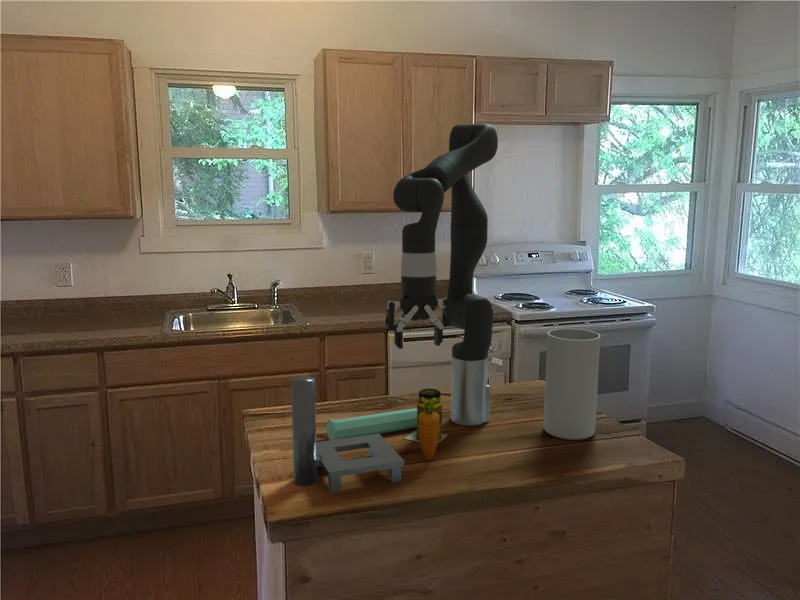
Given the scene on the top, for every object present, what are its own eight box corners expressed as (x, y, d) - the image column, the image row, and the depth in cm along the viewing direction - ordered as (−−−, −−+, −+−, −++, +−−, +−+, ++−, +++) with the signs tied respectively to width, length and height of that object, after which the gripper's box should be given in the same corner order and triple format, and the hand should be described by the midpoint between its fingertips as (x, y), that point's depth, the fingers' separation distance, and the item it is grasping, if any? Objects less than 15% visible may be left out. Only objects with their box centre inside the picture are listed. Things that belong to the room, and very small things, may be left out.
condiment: (435, 446, 157) (436, 397, 155) (403, 439, 161) (404, 392, 159) (448, 435, 163) (449, 389, 161) (417, 429, 167) (418, 384, 165)
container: (419, 400, 171) (328, 413, 160) (429, 415, 166) (336, 430, 155) (415, 418, 174) (325, 432, 163) (425, 433, 169) (333, 449, 158)
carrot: (414, 458, 150) (414, 394, 147) (434, 455, 151) (435, 392, 149) (422, 467, 145) (423, 401, 142) (443, 463, 147) (444, 399, 144)
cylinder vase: (553, 419, 174) (557, 326, 170) (600, 428, 168) (606, 332, 164) (536, 434, 164) (540, 336, 160) (586, 444, 158) (592, 342, 153)
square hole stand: (378, 453, 152) (378, 360, 149) (404, 482, 138) (404, 380, 134) (286, 467, 145) (283, 370, 141) (302, 499, 130) (299, 392, 126)
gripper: (444, 269, 147) (443, 340, 150) (381, 272, 143) (382, 344, 146) (456, 273, 140) (455, 348, 143) (391, 276, 136) (391, 353, 139)
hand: (418, 346), depth 145 cm, fingers open, 8 cm apart
